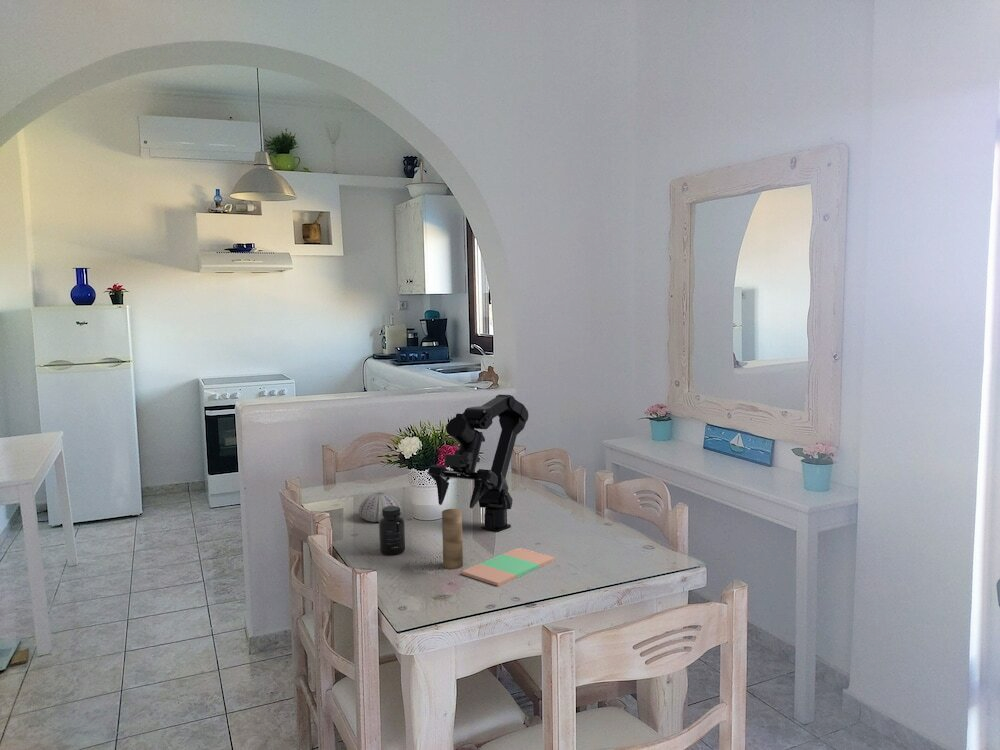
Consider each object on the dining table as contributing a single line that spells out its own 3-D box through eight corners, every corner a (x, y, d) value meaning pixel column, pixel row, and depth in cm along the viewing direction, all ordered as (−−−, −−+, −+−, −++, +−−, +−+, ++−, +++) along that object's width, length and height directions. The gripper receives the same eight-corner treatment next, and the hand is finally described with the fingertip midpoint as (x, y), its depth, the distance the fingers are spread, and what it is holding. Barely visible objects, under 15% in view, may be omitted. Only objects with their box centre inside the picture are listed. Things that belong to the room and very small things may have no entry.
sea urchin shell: (401, 510, 235) (400, 486, 234) (402, 523, 221) (401, 497, 221) (359, 513, 233) (358, 488, 232) (358, 526, 219) (357, 500, 219)
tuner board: (519, 550, 195) (519, 547, 195) (554, 560, 187) (554, 557, 187) (461, 574, 179) (461, 571, 179) (498, 586, 171) (498, 583, 171)
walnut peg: (453, 560, 188) (451, 507, 187) (467, 564, 185) (465, 511, 184) (439, 565, 185) (437, 512, 183) (453, 570, 181) (451, 515, 180)
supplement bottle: (377, 549, 198) (376, 506, 197) (402, 546, 200) (400, 503, 199) (382, 557, 191) (381, 513, 190) (408, 554, 194) (406, 510, 193)
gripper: (426, 437, 195) (410, 493, 189) (488, 442, 187) (474, 500, 181) (443, 452, 204) (429, 506, 198) (504, 457, 196) (491, 513, 190)
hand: (455, 506), depth 192 cm, fingers open, 9 cm apart
